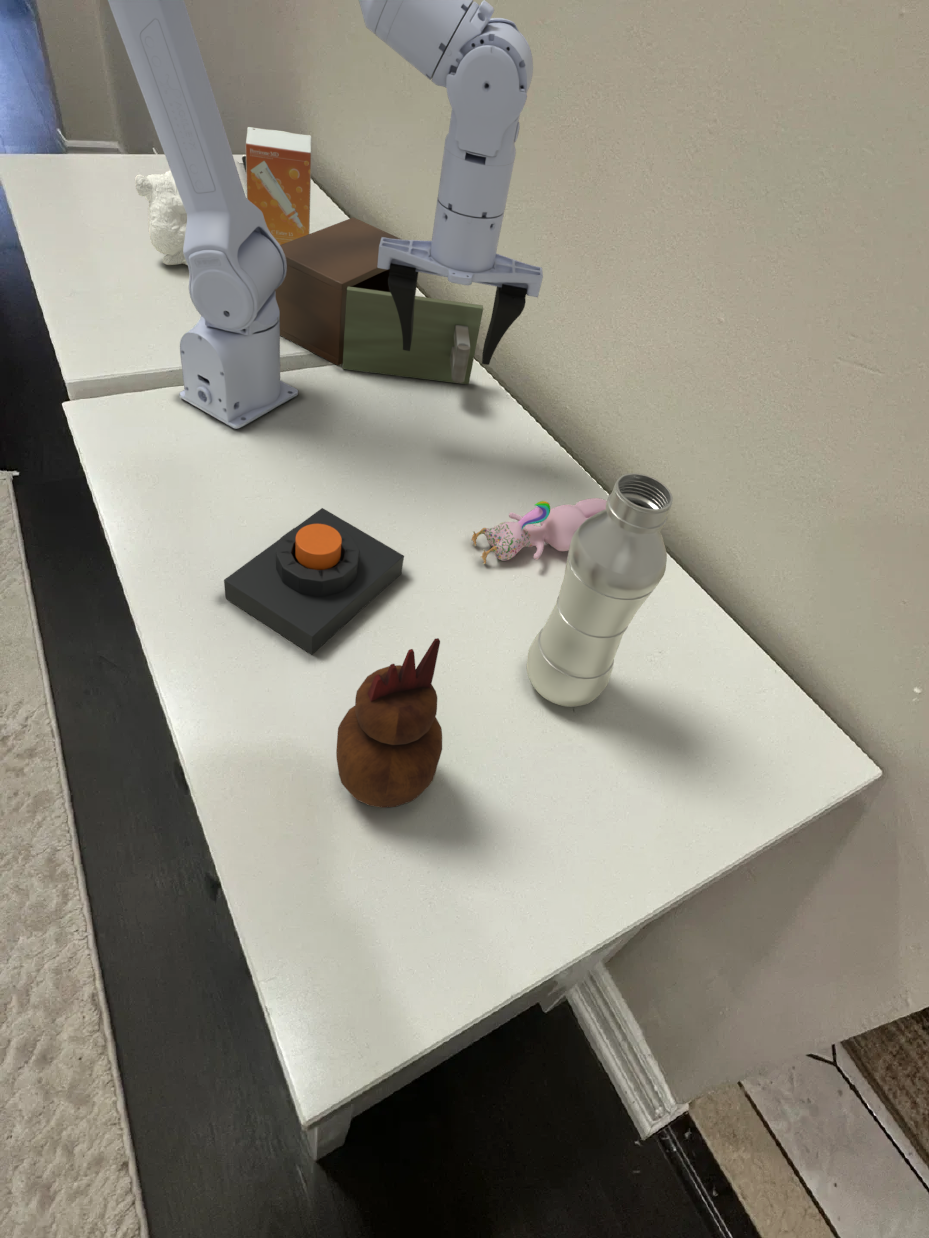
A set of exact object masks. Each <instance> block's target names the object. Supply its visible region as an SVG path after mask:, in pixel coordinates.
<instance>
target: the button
mask: <svg viewBox="0 0 929 1238" xmlns="http://www.w3.org/2000/svg"><path fill="white" fill-rule="evenodd" d="M341 544H342V539H341V536H340V534H339V532H338V531H337V530H336V529H334V528H333V527H331V526H328V525H324V524H310V525H307V526H305V527H303V528H301V529H300V530H299V531H298V533H297V534H296V548H295V555H296V558H297V560H298V561H299V563H300V564H301V565H303V566H305V567H307V568H309V569H314V570H325V569H329V568H331V567H333V566H335V565H336V564H337V563H338V562H339V560H340V557H341Z"/></svg>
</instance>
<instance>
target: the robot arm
mask: <svg viewBox="0 0 929 1238" xmlns="http://www.w3.org/2000/svg"><path fill="white" fill-rule="evenodd" d="M107 2H108V5H109V8H110V11H111V13H112V16H113V19H114V21H115V24H116V27H117V29H118V32H119V35H120V37H121V40H122V43H123V46H124V48H125V51H126V54H127V57H128V59H129V62H130V64H131V67H132V70H133V72H134V76H135V79H136V81H137V84H138V86H139V89H140V91H141V94H142V98H143V99H144V103H145V105H146V108H147V111H148V113H149V116H150V118H151V121H152V125H153V127H154V129H155V132H156V136H157V138H158V140H159V143H160V146H161V148H162V151H163V154H164V156H165V159H166V162H167V164H168V167H169V170H171V173H172V176H173V178H174V181H175V184H176V186H177V189H178V192H179V195H180V197H181V200H182V203H183V205H184V208H185V211H186V213H187V225H186V232H185V239H184V247H183V253H184V256H185V259H186V262H187V265H186V266H187V268H188V274H189V278H188V294H189V296H190V300H191V303H192V305H193V306H194V308H195V310H196V311H197V313H198V314H199V315H200V317H199V319H198V321H197V322H196V324H195V325H194V326H193V327H192V328H190V329H189V330H188V331H187V332H185V333H184V334H183V335H182V337H181V338H180V342H179V356H180V363H181V364H180V365H181V372H182V379H183V380H182V381H183V389H184V390H181V391H180V392H179V398H180V399H182V400H184V401H185V402H187V403H189V404H190V405H192V406H194V407H196V408H197V409H200V410H201V411H203V412H205V413H207V414H208V415H210V416H212V417H213V418H215V419H217V420H218V421H220V422H222V423H224V424H226V425H227V426H229V427H230V428H232V429H235V430H236V429H237V430H238V429H240V428H242V427H244V426H246V425H248V424H250V423H252V422H253V421H255V420H256V419H258V418H260V417H262V416H264V415H265V414H268V412H271V411H272V410H274V409H276V408H277V407H279V406H281V405H282V404H285V403H287V402H288V401H290V400H292V399H293V398H295V397H297V396H298V395H299V390H298V389H297V388H295V387H293V386H292V385H290V384H288V383H286V382H284V381H282V380H281V336H280V311H279V307H278V304H277V301H276V291H275V289H277V288H278V287H279V286H280V285H281V284H282V282H283V281H284V279H285V276H286V272H287V262H286V257H285V254H284V252H283V250H282V248H281V246H280V244H279V243H278V242H277V241H276V239H275V238H274V237H273V236H272V234H271V233H270V231H269V229H268V227H267V225H266V222H265V219H264V216H263V213H262V211H261V210H260V209H259V208H257V207H256V206H255V205H254V204H253V203H251V202H250V201H249V200H248V199H247V195H246V193H245V189H244V187H243V183H242V179H241V177H240V174H239V170H238V168H237V165H236V161H235V159H234V155H233V152H232V149H231V146H230V143H229V138H228V135H227V132H226V129H225V126H224V122H223V120H222V117H221V114H220V111H219V106H218V104H217V100H216V97H215V95H214V90H213V88H212V85H211V81H210V78H209V75H208V71H207V69H206V66H205V63H204V60H203V56H202V52H201V50H200V47H199V43H198V40H197V37H196V34H195V30H194V27H193V25H192V21H191V17H190V15H189V12H188V9H187V5H186V2H185V0H107ZM358 3H359V7H360V10H361V14H362V18H363V23H364V26H365V28H366V29H368V30H369V31H370V32H371V33H373V34H374V35H375V36H376V37H377V38H378V39H380V40H381V41H382V42H383V43H384V44H385V45H387V46H388V47H389V48H390V49H391V50H393V51H394V52H395V53H396V54H398V55H399V56H400V57H402V58H403V60H405V61H406V62H408V64H409V65H411V66H412V67H413V68H414V69H416V71H418V72H420V73H421V75H423V76H424V77H426V78H427V79H428V80H429V81H431V82H432V84H434V85H435V86H436V87H437V86H438V87H443V88H446V93H447V98H448V102H449V104H450V107H451V110H450V111H451V113H450V120H449V125H448V126H449V127H448V132H447V134H446V135H445V138H444V147H443V155H442V162H441V170H440V177H439V183H438V192H437V197H436V205H435V212H434V220H433V228H432V236H431V240H421V239H420V240H418V239H402V238H400V239H390V238H384V237H382V238H381V241H380V245H379V253H378V265H377V267H378V268H381V269H386V270H388V269H390V272H389V278H388V285H389V289H390V292H391V295H392V297H393V300H394V302H395V305H396V308H397V311H398V315H399V319H400V323H401V329H402V337H403V350H406V351H410V348H411V342H412V334H413V320H414V302H415V296H417V295H416V294H417V287H418V286H417V285H418V280H419V279H418V278H419V273H423V274H427V275H430V276H431V275H432V276H437V277H444V278H447V281H448V282H449V283H451V284H457V285H461V286H471V285H472V284H473V283H475V284H481V285H485V286H492V287H495V288H496V289H495V295H494V301H493V307H492V312H491V318H490V321H489V325H488V328H487V331H486V336H485V338H484V342H483V348H482V355H481V364H482V365H486V366H489V365H490V363H491V360H492V357H493V355H494V353H495V351H496V349H497V347H498V345H499V344H500V342H501V340H502V338H503V337H504V335H505V334H506V333H507V331H508V330H509V328H510V327H511V326H512V325H513V323H514V322H515V321H516V320H517V319H518V318H519V317H520V316H521V315H522V313H523V312H524V309H525V306H526V296H529V297H531V298H532V297H533V298H539V296H540V295H539V294H540V291H541V286H542V282H543V279H544V274H543V273H544V271H543V267H542V266H537V265H534V264H533V265H532V264H529V263H525V262H523V261H519V260H517V259H514V258H511V257H508V256H506V255H503V254H499V253H497V252H498V246H499V240H500V236H501V231H502V226H503V221H504V215H505V211H506V206H507V200H508V195H509V190H510V185H511V179H512V175H513V169H514V164H515V160H516V154H517V149H516V142H517V140H518V138H519V133H520V126H521V125H520V124H521V123H520V117H521V113H522V111H523V109H524V107H525V105H526V102H527V100H528V99H527V98H528V92H529V89H530V87H531V84H532V81H533V80H532V79H533V74H534V61H533V53H532V50H531V48H530V45H529V42H528V41H527V39H526V37H525V36H524V35H523V34H522V32H521V31H519V29H518V26H517V24H516V22H514V21H513V20H510V19H508V18H503V17H492V16H493V14H494V12H495V8H494V6H493V5H491V3H489V2H488V1H486V0H482V1H481V2H480V4H479V3H477V1H476V0H358ZM401 239H402V240H401Z"/></svg>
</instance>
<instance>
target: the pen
mask: <svg viewBox="0 0 929 1238" xmlns="http://www.w3.org/2000/svg"><path fill="white" fill-rule="evenodd" d="M241 161H242V164H243V168H244V171H245V173H246V154H242V157H241Z"/></svg>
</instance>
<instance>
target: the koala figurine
mask: <svg viewBox="0 0 929 1238" xmlns="http://www.w3.org/2000/svg"><path fill="white" fill-rule="evenodd" d="M134 184H135V190H136V193H137V194H138V195H139V196H140V197H144V198H145V200H146V201H148V207H147V217H148V218H147V219H148V220H147V229H148V235H149V240H150V243H151V245H152V246H153V247H154V249H155V250H156V251H157V252H159V253H160V254H163V255H165V256H164V257H163V258H162V263H163V264H164V265H166V266H174V265H182V264H183V265H186V266H188V265H187V262H186V259H185V256H184V253H183V247H184V239H185V232H186V225H187V213H186V211H185V208H184V205H183V203H182V200H181V197H180V195H179V192H178V189H177V186H176V184H175V181H174V178H173V176H172V173H171V170H170V169H169V170H166V172H164V173H163V174H162V173H160V174H159V173H152V174H149V175H146V176H144V175H142V174H137V175H136V176H135V178H134Z"/></svg>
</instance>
